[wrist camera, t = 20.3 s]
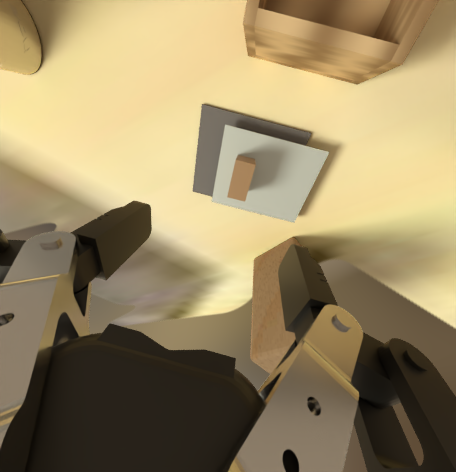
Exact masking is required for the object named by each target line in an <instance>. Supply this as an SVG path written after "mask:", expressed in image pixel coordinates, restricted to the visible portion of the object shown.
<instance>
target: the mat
mask: <svg viewBox="0 0 456 472" xmlns="http://www.w3.org/2000/svg"><path fill="white" fill-rule="evenodd" d="M225 125H229V126H233V127H237V128H240V129H244V130H248V131H252V132H256V133H259V134H263V135H267V136H271V137H275V138H278V139H282V140H286V141H290V142H293V143H297V144H301V145H305V146H306V144H307V142H308V140H309V137H310V135H311V133H308V132H305V131H301V130H297V129H293V128H290V127H286V126H282V125H278V124H275V123H271V122H267V121H263V120H260V119H256V118H252V117H248V116H244V115H241V114H237V113H233V112H229V111H226V110H222V109H218V108H214V107H211V106H207V105H203V104H202V110H201V119H200V128H199V138H198V147H197V156H196V165H195V175H194V184H193V192H197V193H201V194H205V195H208V196H212V197H213V191H214V185H215V180H216V174H217V168H218V163H219V157H220V151H221V146H222V140H223V134H224V129H225Z"/></svg>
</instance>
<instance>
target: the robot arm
mask: <svg viewBox="0 0 456 472" xmlns="http://www.w3.org/2000/svg"><path fill="white" fill-rule="evenodd" d="M41 57H42V53H41V44H40V39H39V36H38V33H37V30H36V27H35V25H34V22H33V20H32V18H31V16H30V14H29V12H28V11H27V9H26V7H25V6H24V4H23V3H22V1H21V0H0V69H2V70H7V71H11V72H16V73H20V74H24V75H29V74H32V73H35V72H36V71H37V70H38V68H39V66H40V64H41ZM150 234H151V207H150V205H149V204H145V203H142V202H138V201H132V202H131V203H129V204H127V205H126V206H124V207H120V208H116V209H112V210H110V211H109V212H107V213H105V214H104V215H102V216H100V217H98V218H97V219H94V220H93V221H91V222H89V223H87V224H85V225H84V226H82V227H80V228H78V229H76V230H75V231H73V232H71V233H69V232H64V231H54V232H47V233H43V234H39V235H37V236H34V237H32V238H30V239H29V240H27V241H20V240H7V239H6V237H5V235H4V234H3V232H2V231H1V230H0V472H342V471H343V467H344V463H345V458H346V454H347V450H348V445H349V440H350V436H351V432H352V427H353V423H354V425H355V429H356V432H357V435H358V439H359V443H360V446H361V450H362V453H363V457H364V460H365V464H366V468H367V471H368V472H456V397H455V395H454V394H453V392H452V391H451V390H450V388H449V386H448V385H447V383H446V382H445V381H444V379H443V378H442V376H441V375H440V373H439V372H438V371H437V369H436V368H435V367H434V365H433V364H432V363H431V362H430V360H429V359H428V358H427V357H426V356H425V355H424V354H423V353H421V352H420V351H419V350H418V349H417V348H415V347H414V346H412V345H411V344H409V343H407V342H405V341H403V340H401V339H396V338H394V339H391V340H389V341H388V342H386V343H385V344H384V343H382V342H380V341H378V340H376V339H374V338H373V337H371V336H369V335H367V334H365V333H363V332H362V329H361V327H360V325H359V324H358V322H357V321H356V319H355V318H354V317H353V316H352V315H351V314H350V313H348V312H347V311H346V310H344V309H342V308H341V307H338V305H337V302H336V300H335V298H334V296H333V294H332V291H331V289H330V287H329V285H328V283H327V280H326V278H325V276H324V273H323V271H322V269H321V267H320V265H319V264H318V263H317V262H316V261H315V260H314V259H312V258H311V257H310V254H309V252H308V249H307V248H306V247H302V246H299V245H295V244H291V245H290V247H289V249H288V250H287V252H286V254H285V256H284V258H283V260H282V262H281V264H280V266H279V270H278V278H279V286H280V293H281V301H282V309H283V316H284V324H285V331H289V332H293V333H295V338H296V339H295V340H294V341H293V342H292V344H291V345H290V347H289V348H288V350H287V351H286V352H285V354H284V355H283V357H282V358H281V360H280V361H279V363H278V364H277V366H276V367H275V369H274V370H273V372H272V373H271V374H270V376H269V377H268V378H267V380H266V381H265V382H264V384H263V385H262V386H261V387H260V389H259V390H258V391H257V390H256V388H255V387H254V386H253V385H252V383H251V382H250V381H249V380H248V379H247V378H246V377H245V376H244V375H243V374H241V373H240V372H239V371H237V370H236V369H235V360H236V359H235V358H232V357H229V356H226V355H222V354H218V353H215V352H211V351H207V350H168V349H166V348H164V347H163V346H161V345H159V344H158V343H157V342H155V341H154V340H152V339H151V338H149V337H148V336H146V335H144V334H143V333H141V332H139V331H135V330H132V329H128V328H124V327H121V326H117V325H114V324H109V325H108V326H107V328H106V329H105V330H104V332H103V333H97V334H90V331H89V311H90V299H91V288H92V284H91V281H92V280H93V279H94V278H95V277H96V278H100V279H103V280H107V279H108V278H109V277H110V276H111V275H112V274H113V273H114V272H115V271H116V270H117V269H118V268H119V267H120V266H121V265H122V264H123V263H124V262H125V261H126V260H127V259H128V258H129V257H130V256H131V255H132V254H133V253H134V252H135V251H136V250H137V249H138V248H139V247H140V246H141V245H142V244H143V243H144V242H145V241H146V240H147V239H148V238H149V236H150ZM398 403H401V404H402V405H403V407H404V410H405V412H406V414H407V416H408V418H409V420H410V422H411V424H412V426H413V429H414V431H415V433H416V435H417V437H418V439H419V441H420V443H421V446H422V449H423V454H424V460H423V463H422V465H421V466H418V463H417V461H416V459H415V457H414V454H413V452H412V450H411V448H410V445H409V443H408V441H407V439H406V436H405V434H404V432H403V429H402V427H401V425H400V423H399V420H398V418H397V416H396V414H395V411H394V409H393V407H392V406H393V405H396V404H398Z"/></svg>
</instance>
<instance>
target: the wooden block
mask: <svg viewBox="0 0 456 472" xmlns="http://www.w3.org/2000/svg"><path fill="white" fill-rule="evenodd" d="M291 244H295V245H299V246H301V245H300V243H299V242H298V241H297V240H296V238H294V237H292V238H290V239H288V240H287V241H285V242H283V243H281V244H280V245H278V246H276V247H274V248H273V249H271V250H269V251H267V252H266V253H264V254H262V255H260V256H258V257H257V258H255V259H254V272H253V300H252V328H251V360H252V361H253V362H255V363H256V364H258V365H259V366H260V367H261V368H263V369H264V370H266V371H267V372H268V373H270V374H271V373H272V372H273V370H274V369H275V367H276V366H277V364H278V363H279V361H280V360H281V358H282V357H283V355H284V354H285V352H286V351H287V350H288V348H289V347H290V345H291V344H292V342H293V341H294V340H295V339H296V338H295V333H293V332H289V331H285V324H284V316H283V309H282V301H281V293H280V286H279V278H278V270H279V266H280V264H281V262H282V260H283V258H284V256H285V254H286V252H287V250H288V249H289V247H290V245H291Z"/></svg>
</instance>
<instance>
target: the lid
mask: <svg viewBox="0 0 456 472" xmlns="http://www.w3.org/2000/svg"><path fill="white" fill-rule="evenodd" d="M328 154H329V152H327V151H324V150H320V149H316V148H312V147H309V146H305V145H301V144H297V143H293V142H290V141H286V140H282V139H278V138H275V137H271V136H267V135H263V134H259V133H256V132H252V131H248V130H244V129H240V128H237V127H233V126H229V125H225V129H224V134H223V140H222V146H221V151H220V157H219V163H218V168H217V174H216V180H215V185H214V191H213V197H212V202H215V203H219V204H223V205H226V206H230V207H234V208H238V209H242V210H246V211H250V212H254V213H258V214H262V215H266V216H270V217H274V218H278V219H282V220H286V221H290V222H295V220H296V218H297V216H298V214H299V212H300V210H301V208H302V206H303V204H304V202H305V200H306V198H307V196H308V194H309V192H310V190H311V188H312V186H313V184H314V182H315V180H316V178H317V176H318V174H319V172H320V170H321V168H322V166H323V164H324V162H325V160H326V158H327V156H328Z"/></svg>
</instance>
